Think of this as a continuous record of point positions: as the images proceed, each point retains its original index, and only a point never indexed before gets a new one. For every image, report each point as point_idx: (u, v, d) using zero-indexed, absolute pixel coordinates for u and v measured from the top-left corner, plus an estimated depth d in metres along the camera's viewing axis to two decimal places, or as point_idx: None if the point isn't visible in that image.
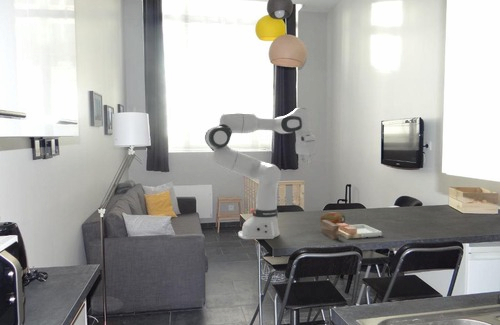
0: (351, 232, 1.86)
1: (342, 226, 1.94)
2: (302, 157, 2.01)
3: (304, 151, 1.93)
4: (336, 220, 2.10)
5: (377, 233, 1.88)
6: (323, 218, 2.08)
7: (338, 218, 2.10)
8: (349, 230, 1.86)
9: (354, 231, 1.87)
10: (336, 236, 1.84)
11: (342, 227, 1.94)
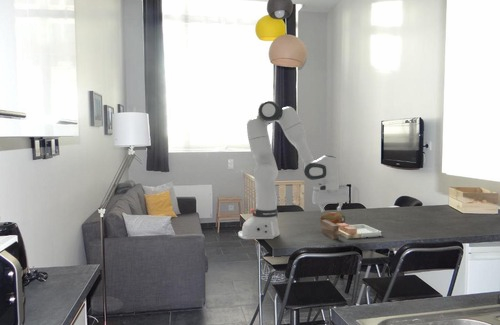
0: (351, 232, 1.86)
1: (342, 226, 1.94)
2: (339, 206, 1.91)
3: None
4: (336, 220, 2.10)
5: (377, 233, 1.88)
6: (323, 218, 2.08)
7: (338, 218, 2.10)
8: (349, 230, 1.86)
9: (354, 231, 1.87)
10: (336, 236, 1.84)
11: (342, 227, 1.94)
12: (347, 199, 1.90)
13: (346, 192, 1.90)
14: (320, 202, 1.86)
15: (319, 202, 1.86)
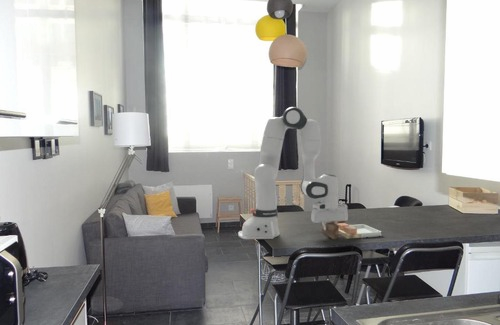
0: (351, 232, 1.86)
1: (342, 226, 1.94)
2: None
3: None
4: None
5: (377, 233, 1.88)
6: None
7: None
8: (349, 230, 1.86)
9: (354, 231, 1.87)
10: (336, 236, 1.84)
11: (342, 227, 1.94)
12: (346, 218, 1.91)
13: (345, 211, 1.90)
14: (319, 221, 1.87)
15: (318, 221, 1.86)
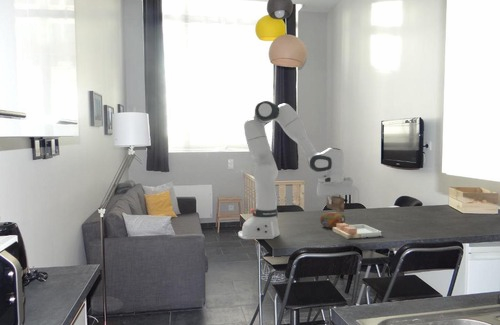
0: (351, 232, 1.86)
1: (342, 226, 1.94)
2: None
3: None
4: (336, 220, 2.10)
5: (377, 233, 1.88)
6: (323, 218, 2.08)
7: (338, 218, 2.10)
8: (349, 230, 1.86)
9: (354, 231, 1.87)
10: (342, 209, 1.84)
11: (342, 227, 1.94)
12: (351, 192, 1.90)
13: (351, 185, 1.90)
14: (325, 194, 1.87)
15: (323, 194, 1.86)
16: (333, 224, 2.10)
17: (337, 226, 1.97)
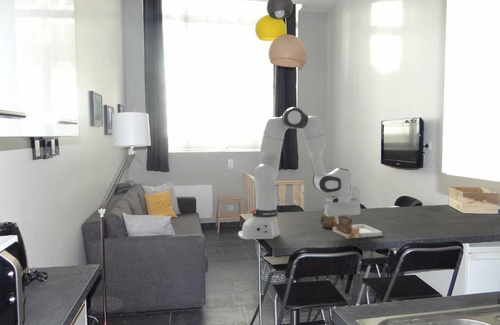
0: (353, 232, 1.87)
1: None
2: None
3: None
4: None
5: (377, 233, 1.88)
6: (323, 218, 2.08)
7: None
8: (352, 230, 1.86)
9: (356, 231, 1.87)
10: (349, 229, 1.85)
11: None
12: (359, 212, 1.92)
13: (358, 205, 1.92)
14: (332, 214, 1.88)
15: (331, 214, 1.88)
16: (333, 224, 2.10)
17: None
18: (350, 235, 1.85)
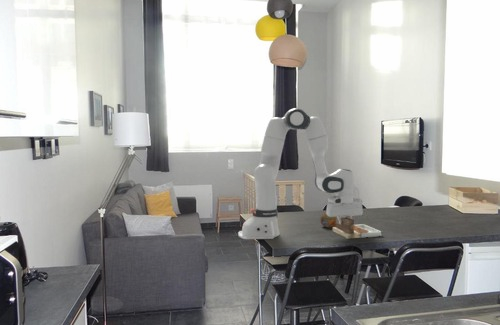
0: (362, 232, 1.88)
1: None
2: None
3: None
4: None
5: (377, 233, 1.88)
6: (323, 218, 2.08)
7: None
8: (361, 230, 1.87)
9: (365, 232, 1.88)
10: (351, 230, 1.86)
11: None
12: (361, 212, 1.93)
13: (360, 205, 1.92)
14: (334, 215, 1.89)
15: (333, 215, 1.89)
16: (333, 224, 2.10)
17: None
18: (350, 235, 1.85)
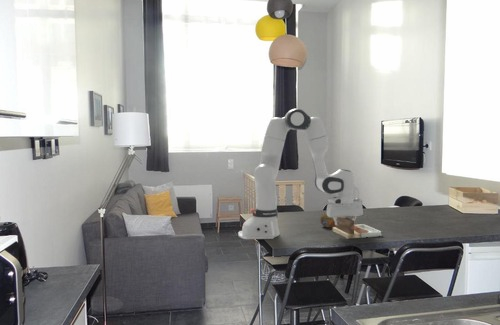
0: (362, 232, 1.88)
1: None
2: (353, 219, 1.93)
3: None
4: None
5: (377, 233, 1.88)
6: (323, 218, 2.08)
7: None
8: (361, 230, 1.87)
9: (365, 232, 1.88)
10: (352, 231, 1.86)
11: None
12: (361, 213, 1.93)
13: (360, 206, 1.92)
14: (335, 215, 1.89)
15: (333, 215, 1.89)
16: (333, 224, 2.10)
17: None
18: (350, 235, 1.85)
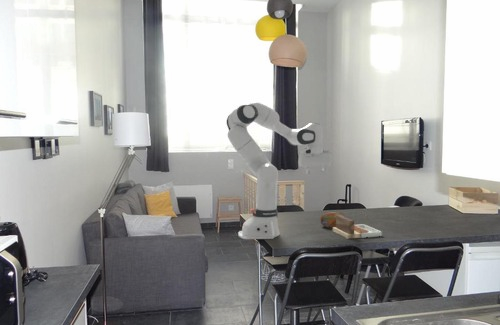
0: (362, 232, 1.88)
1: None
2: (323, 169, 2.12)
3: None
4: None
5: (377, 233, 1.88)
6: (323, 218, 2.08)
7: None
8: (361, 230, 1.87)
9: (365, 232, 1.88)
10: (352, 231, 1.86)
11: None
12: (330, 163, 2.11)
13: (329, 157, 2.11)
14: (305, 164, 2.08)
15: (304, 164, 2.07)
16: (333, 224, 2.10)
17: None
18: (350, 235, 1.85)
